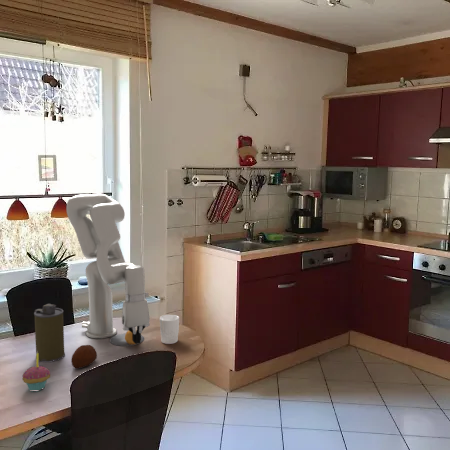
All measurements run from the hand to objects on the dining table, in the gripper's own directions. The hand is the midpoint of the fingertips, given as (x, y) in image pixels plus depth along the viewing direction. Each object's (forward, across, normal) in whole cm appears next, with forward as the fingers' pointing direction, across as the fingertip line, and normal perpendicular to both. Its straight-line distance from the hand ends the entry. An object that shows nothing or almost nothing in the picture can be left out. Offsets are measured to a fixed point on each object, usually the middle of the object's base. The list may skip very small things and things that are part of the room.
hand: (136, 342), depth 199 cm
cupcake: (+3, +41, +17) cm, 44 cm away
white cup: (+3, -14, -1) cm, 14 cm away
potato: (+3, +22, +7) cm, 23 cm away
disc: (+2, 0, -10) cm, 10 cm away
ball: (-1, 0, -5) cm, 5 cm away
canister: (+2, +32, -8) cm, 33 cm away
